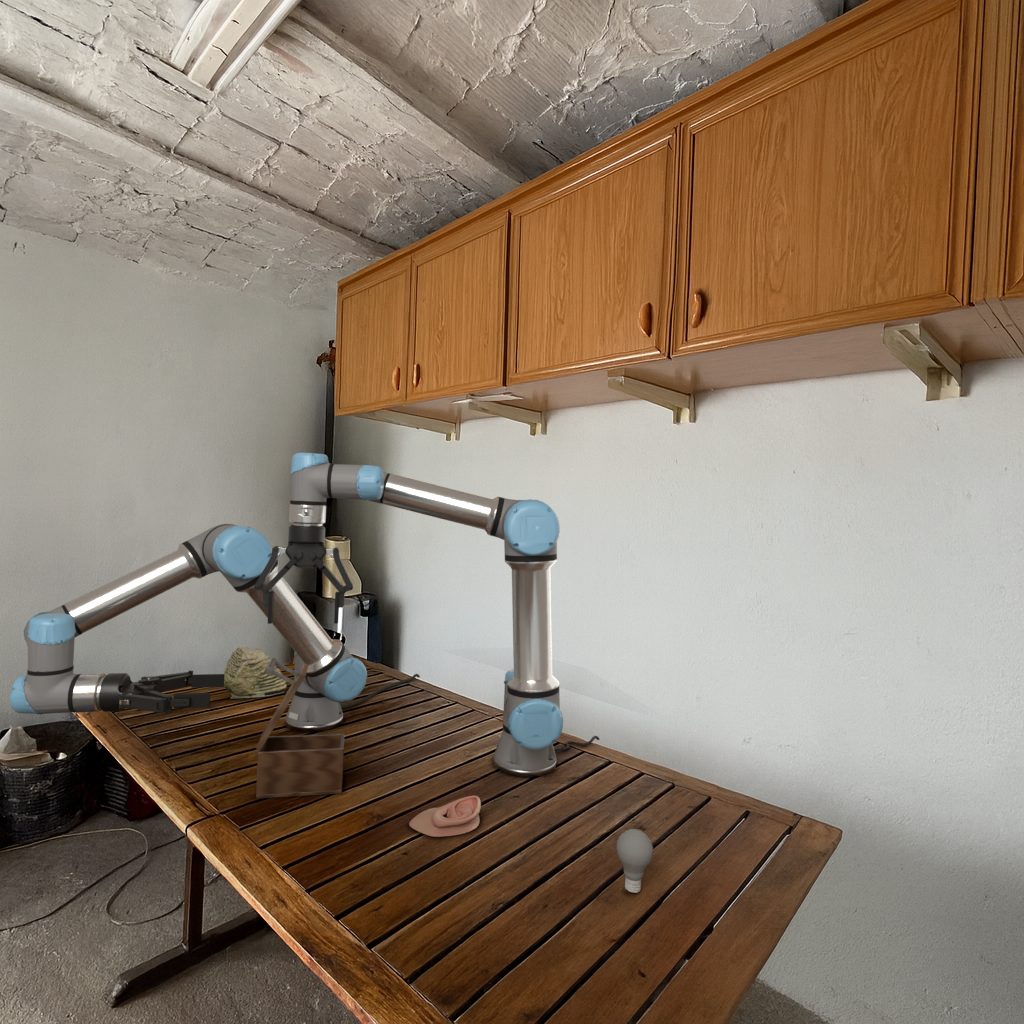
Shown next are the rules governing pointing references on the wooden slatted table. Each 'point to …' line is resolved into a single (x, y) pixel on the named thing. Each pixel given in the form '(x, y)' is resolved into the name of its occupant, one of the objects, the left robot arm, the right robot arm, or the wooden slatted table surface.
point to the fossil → (251, 675)
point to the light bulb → (634, 857)
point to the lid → (286, 698)
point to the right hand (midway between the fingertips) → (303, 622)
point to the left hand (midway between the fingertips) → (217, 689)
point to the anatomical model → (449, 818)
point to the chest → (300, 765)
